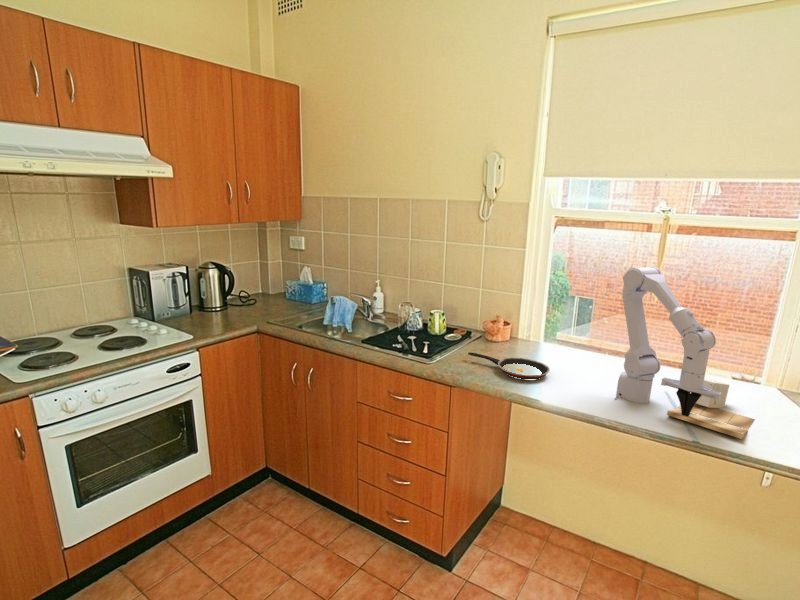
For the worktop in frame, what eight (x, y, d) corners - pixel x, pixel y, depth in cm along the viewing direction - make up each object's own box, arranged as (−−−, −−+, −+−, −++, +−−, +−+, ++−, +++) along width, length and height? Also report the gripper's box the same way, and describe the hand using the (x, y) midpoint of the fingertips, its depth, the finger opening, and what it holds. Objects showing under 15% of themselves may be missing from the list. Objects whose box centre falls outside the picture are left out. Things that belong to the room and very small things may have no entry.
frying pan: (540, 388, 154) (541, 378, 154) (457, 367, 172) (458, 358, 171) (554, 372, 170) (556, 363, 169) (477, 354, 187) (478, 346, 186)
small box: (711, 379, 146) (695, 377, 141) (730, 384, 142) (715, 382, 136) (705, 403, 147) (689, 401, 141) (724, 409, 142) (708, 407, 136)
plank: (666, 414, 132) (667, 410, 132) (675, 412, 139) (676, 408, 139) (741, 438, 119) (742, 434, 119) (746, 434, 126) (748, 430, 126)
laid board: (676, 411, 139) (677, 407, 139) (685, 402, 146) (686, 399, 146) (747, 434, 127) (748, 429, 126) (754, 423, 133) (755, 419, 133)
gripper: (726, 375, 125) (718, 419, 128) (669, 361, 135) (662, 402, 138) (720, 381, 120) (712, 427, 123) (661, 366, 131) (655, 409, 133)
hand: (685, 414), depth 130 cm, fingers closed, pressing on plank
